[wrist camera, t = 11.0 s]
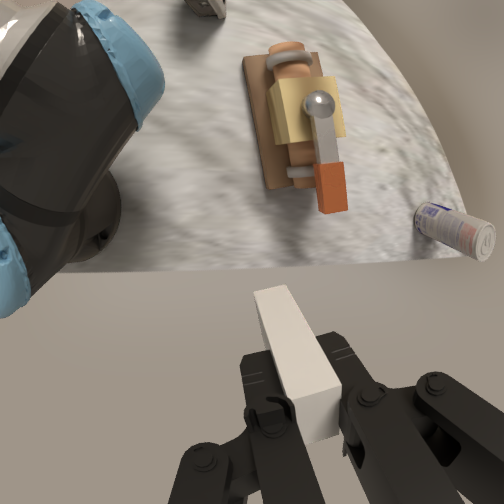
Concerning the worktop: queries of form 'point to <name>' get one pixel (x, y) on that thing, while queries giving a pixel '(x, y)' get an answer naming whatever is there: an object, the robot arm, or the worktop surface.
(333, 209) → the valve lever
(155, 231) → the worktop surface
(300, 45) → the valve manifold
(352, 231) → the worktop surface
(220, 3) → the electrical switch
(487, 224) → the beverage can
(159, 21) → the worktop surface
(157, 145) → the worktop surface
